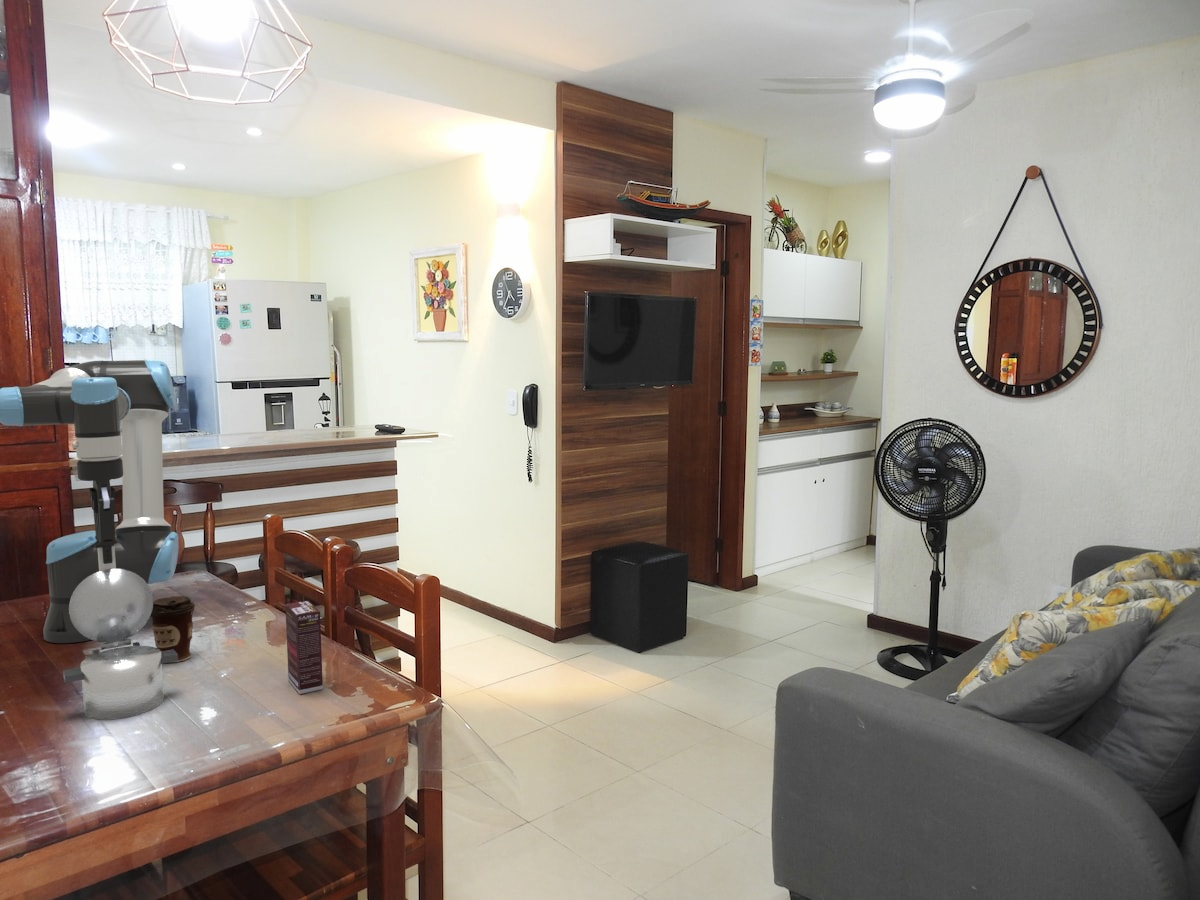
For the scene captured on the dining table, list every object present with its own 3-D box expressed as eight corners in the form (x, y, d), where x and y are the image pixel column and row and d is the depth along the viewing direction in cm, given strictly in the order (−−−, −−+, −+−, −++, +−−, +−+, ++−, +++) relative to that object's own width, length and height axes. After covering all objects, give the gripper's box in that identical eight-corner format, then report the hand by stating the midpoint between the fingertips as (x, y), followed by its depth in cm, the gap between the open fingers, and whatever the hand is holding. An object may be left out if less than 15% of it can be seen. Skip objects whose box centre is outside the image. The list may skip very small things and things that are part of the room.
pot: (63, 702, 157) (59, 656, 156) (170, 679, 168) (167, 636, 167) (71, 730, 146) (67, 680, 145) (185, 703, 157) (182, 657, 156)
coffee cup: (177, 667, 175) (173, 607, 173) (142, 664, 176) (138, 604, 175) (205, 652, 183) (201, 595, 181) (171, 650, 185) (168, 592, 183)
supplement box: (324, 689, 163) (321, 610, 162) (299, 695, 161) (295, 615, 159) (312, 675, 171) (308, 599, 169) (287, 680, 168) (283, 603, 166)
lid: (73, 655, 157) (72, 653, 160) (157, 640, 165) (154, 638, 168) (66, 575, 157) (64, 574, 160) (149, 563, 165) (147, 563, 168)
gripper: (73, 456, 163) (82, 574, 166) (80, 463, 153) (89, 589, 155) (117, 453, 167) (125, 568, 170) (127, 460, 157) (135, 582, 160)
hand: (108, 578), depth 163 cm, fingers closed
